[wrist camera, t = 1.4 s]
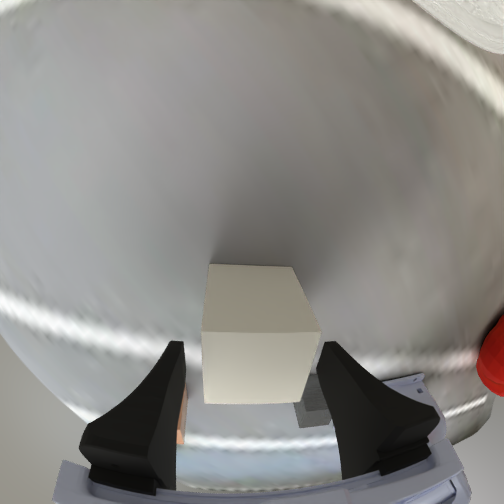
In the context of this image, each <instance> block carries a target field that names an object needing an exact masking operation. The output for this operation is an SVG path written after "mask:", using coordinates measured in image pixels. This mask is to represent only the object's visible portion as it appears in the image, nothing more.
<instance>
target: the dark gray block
mask: <svg viewBox="0 0 504 504" xmlns="http://www.w3.org/2000/svg"><path fill="white" fill-rule="evenodd" d="M293 403H294V407H295V412H296V416H297V420H298V424H299V428H306V427H314V426H321V425H328V424H329V423H330V421H331V419H332V417H331V414H330V412H329V409H328V406H327V403H326V401H325V398H324V395H323V393H322V390H321V387H320V384H319V379H318V375H317V374H312V375H309V376H308V379H307V382H306V385H305V388H304V391H303V394H302V397H301V400H300V402H293Z"/></svg>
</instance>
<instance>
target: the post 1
mask: <svg viewBox="0 0 504 504" xmlns="http://www.w3.org/2000/svg"><path fill="white" fill-rule="evenodd" d="M187 404H188V397H187V389H186V382H185V388H184V394H183V399H182V404H181V409H180V415H179V420H178V427H177V443H176V444H184V437H185V425H186V414H187Z"/></svg>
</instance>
